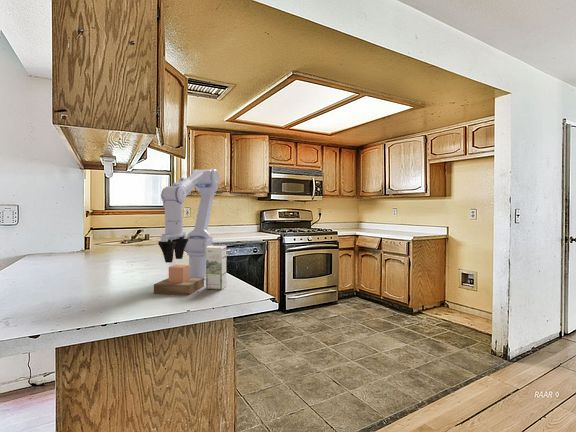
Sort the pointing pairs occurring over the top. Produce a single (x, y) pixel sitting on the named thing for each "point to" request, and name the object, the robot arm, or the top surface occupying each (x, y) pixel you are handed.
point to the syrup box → (216, 267)
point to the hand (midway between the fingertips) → (174, 260)
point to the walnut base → (179, 286)
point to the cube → (179, 273)
